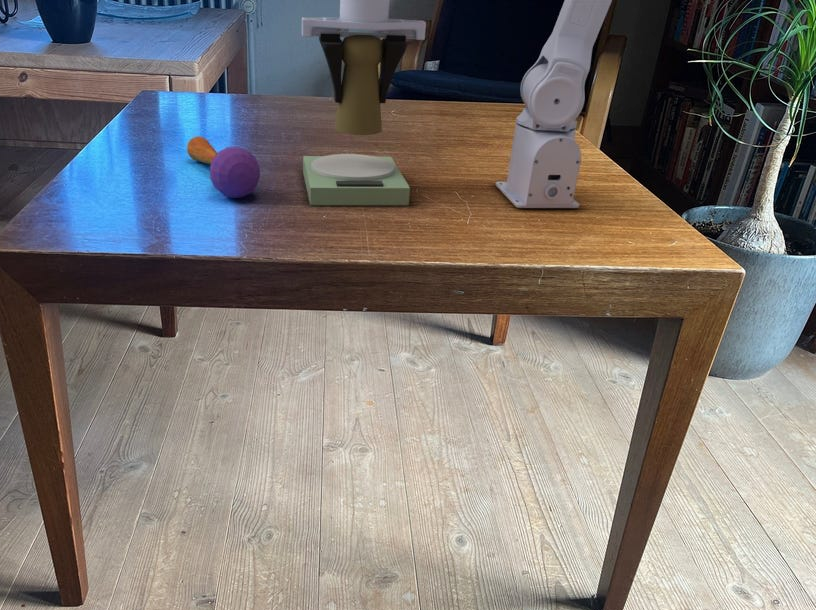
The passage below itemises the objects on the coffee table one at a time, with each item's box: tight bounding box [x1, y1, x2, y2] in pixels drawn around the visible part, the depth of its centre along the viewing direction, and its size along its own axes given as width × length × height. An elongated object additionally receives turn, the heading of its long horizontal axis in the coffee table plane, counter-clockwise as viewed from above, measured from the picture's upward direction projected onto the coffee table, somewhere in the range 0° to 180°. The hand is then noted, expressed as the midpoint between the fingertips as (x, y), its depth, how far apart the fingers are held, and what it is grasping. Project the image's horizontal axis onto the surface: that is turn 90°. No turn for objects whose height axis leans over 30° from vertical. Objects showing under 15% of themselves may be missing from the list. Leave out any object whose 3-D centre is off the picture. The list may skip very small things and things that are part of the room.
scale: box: [302, 153, 411, 206], centre depth 94 cm, size 14×12×3 cm
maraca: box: [186, 136, 261, 199], centre depth 94 cm, size 6×6×20 cm
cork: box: [333, 35, 384, 136], centre depth 90 cm, size 6×6×11 cm
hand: (359, 101), depth 91 cm, fingers closed on cork, 5 cm apart
